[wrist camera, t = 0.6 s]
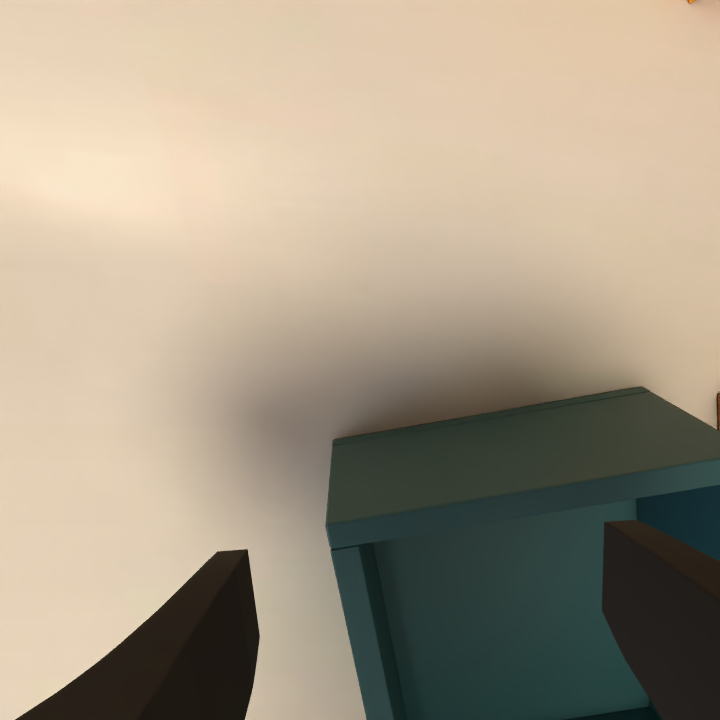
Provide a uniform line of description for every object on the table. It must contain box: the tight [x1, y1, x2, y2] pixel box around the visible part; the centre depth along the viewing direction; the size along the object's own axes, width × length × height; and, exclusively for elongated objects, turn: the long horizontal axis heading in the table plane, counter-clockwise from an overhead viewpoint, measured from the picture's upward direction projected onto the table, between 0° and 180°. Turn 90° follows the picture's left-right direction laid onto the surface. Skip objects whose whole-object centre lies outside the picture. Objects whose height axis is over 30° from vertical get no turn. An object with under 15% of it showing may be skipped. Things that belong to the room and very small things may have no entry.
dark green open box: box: [325, 387, 720, 720], centre depth 20 cm, size 15×12×6 cm
